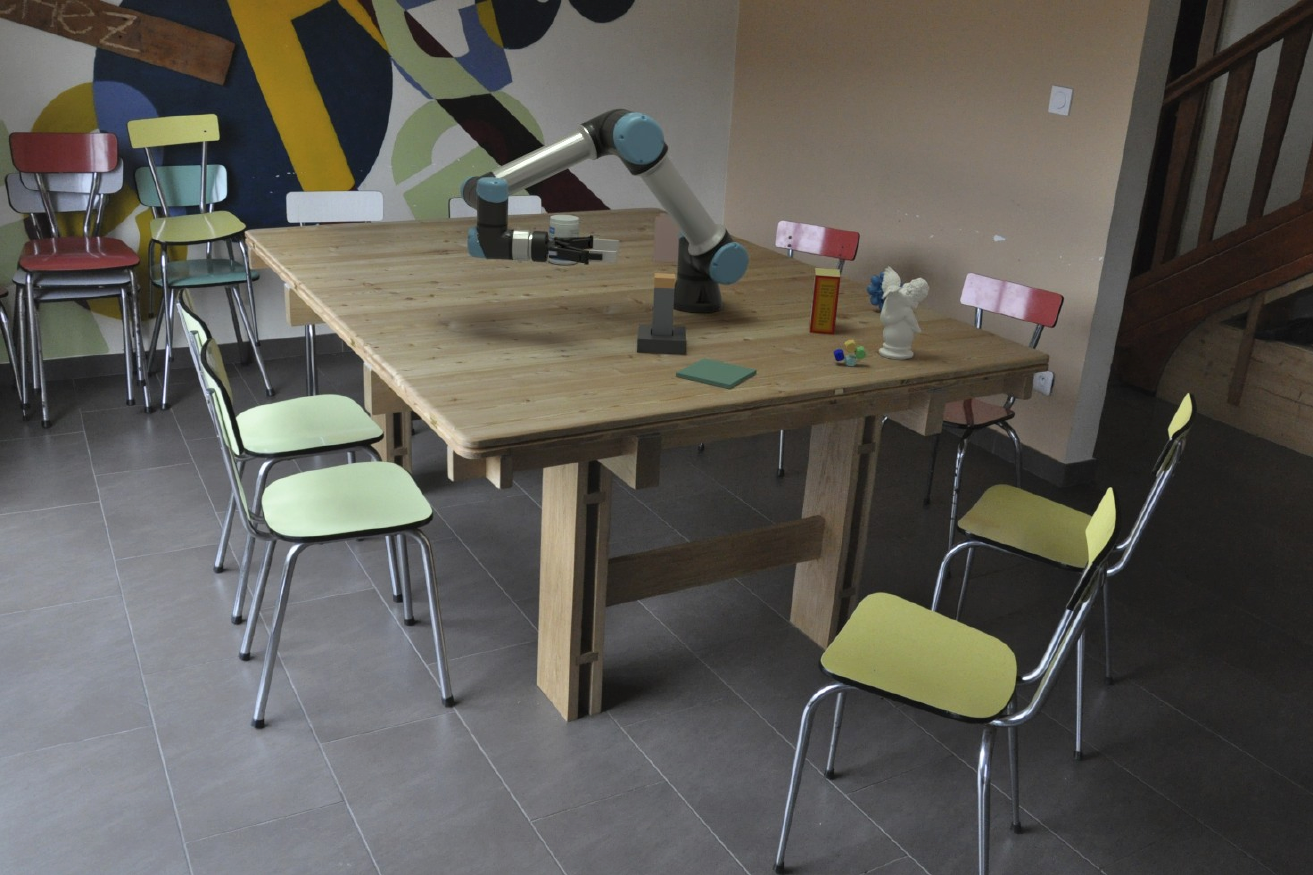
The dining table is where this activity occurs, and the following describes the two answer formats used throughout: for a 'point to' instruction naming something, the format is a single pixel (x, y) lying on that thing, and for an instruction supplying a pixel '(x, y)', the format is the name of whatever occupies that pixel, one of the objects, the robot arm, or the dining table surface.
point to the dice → (850, 347)
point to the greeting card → (665, 239)
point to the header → (661, 341)
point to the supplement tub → (563, 232)
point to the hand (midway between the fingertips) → (618, 251)
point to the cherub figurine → (900, 314)
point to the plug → (663, 304)
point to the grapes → (877, 290)
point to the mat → (716, 373)
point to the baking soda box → (824, 300)
